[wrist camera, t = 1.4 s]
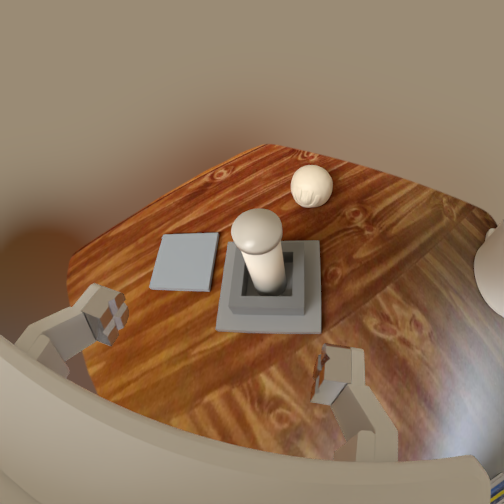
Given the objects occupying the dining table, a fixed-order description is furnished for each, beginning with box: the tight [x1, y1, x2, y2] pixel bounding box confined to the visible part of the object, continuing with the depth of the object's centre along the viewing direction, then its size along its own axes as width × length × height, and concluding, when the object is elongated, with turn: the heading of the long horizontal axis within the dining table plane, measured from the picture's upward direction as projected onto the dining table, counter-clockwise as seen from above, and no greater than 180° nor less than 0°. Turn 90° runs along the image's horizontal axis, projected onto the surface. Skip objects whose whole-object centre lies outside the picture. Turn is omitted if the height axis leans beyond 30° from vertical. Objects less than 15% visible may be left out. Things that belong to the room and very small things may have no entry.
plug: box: [231, 209, 287, 296], centre depth 35 cm, size 5×5×13 cm
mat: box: [149, 233, 219, 292], centre depth 46 cm, size 10×10×1 cm
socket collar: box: [216, 240, 321, 334], centre depth 40 cm, size 14×14×4 cm
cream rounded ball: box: [291, 165, 333, 208], centre depth 46 cm, size 7×7×7 cm
